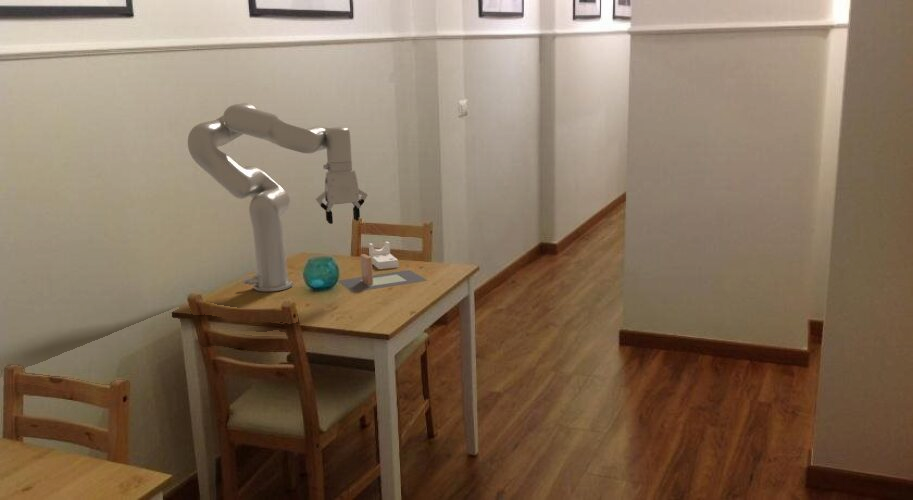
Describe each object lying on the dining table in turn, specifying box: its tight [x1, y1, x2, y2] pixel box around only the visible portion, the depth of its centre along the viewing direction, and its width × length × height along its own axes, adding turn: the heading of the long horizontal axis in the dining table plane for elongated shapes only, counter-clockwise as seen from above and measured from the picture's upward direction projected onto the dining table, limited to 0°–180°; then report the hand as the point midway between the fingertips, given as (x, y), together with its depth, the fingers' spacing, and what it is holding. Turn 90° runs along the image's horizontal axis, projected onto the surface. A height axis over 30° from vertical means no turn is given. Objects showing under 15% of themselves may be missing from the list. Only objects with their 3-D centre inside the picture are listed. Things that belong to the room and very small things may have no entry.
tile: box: [360, 253, 374, 285], centre depth 271 cm, size 2×6×9 cm, turn 25°
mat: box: [337, 269, 428, 293], centre depth 274 cm, size 26×16×1 cm, turn 115°
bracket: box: [368, 240, 399, 270], centre depth 295 cm, size 13×7×8 cm, turn 20°
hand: (343, 221), depth 264 cm, fingers open, 8 cm apart
